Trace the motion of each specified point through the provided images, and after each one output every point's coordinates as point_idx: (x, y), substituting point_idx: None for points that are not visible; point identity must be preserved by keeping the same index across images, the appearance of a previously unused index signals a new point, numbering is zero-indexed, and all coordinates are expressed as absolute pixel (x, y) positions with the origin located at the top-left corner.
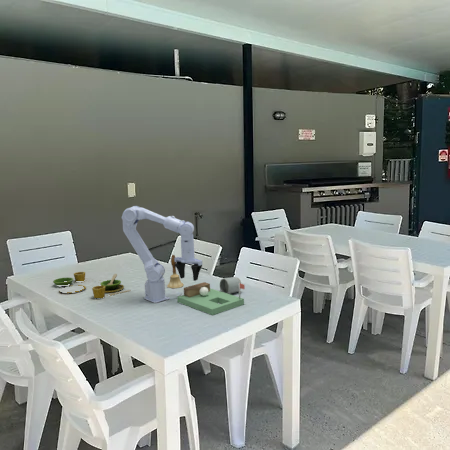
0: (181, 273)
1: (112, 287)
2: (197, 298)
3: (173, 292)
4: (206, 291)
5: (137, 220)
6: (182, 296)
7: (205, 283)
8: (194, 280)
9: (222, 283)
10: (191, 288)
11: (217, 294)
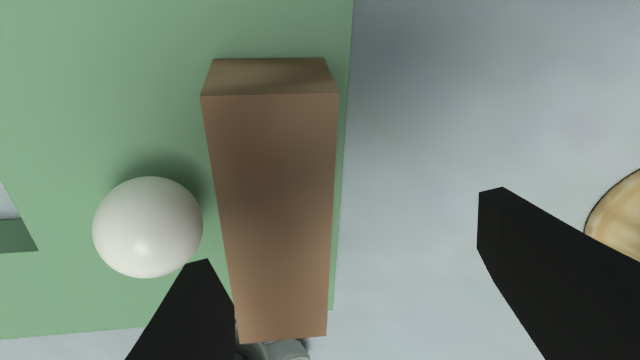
0: (536, 266)
1: None
2: (116, 101)
3: (577, 117)
4: (92, 233)
5: None
6: (310, 22)
7: (279, 325)
8: (188, 265)
9: None
10: (228, 150)
11: (122, 281)
